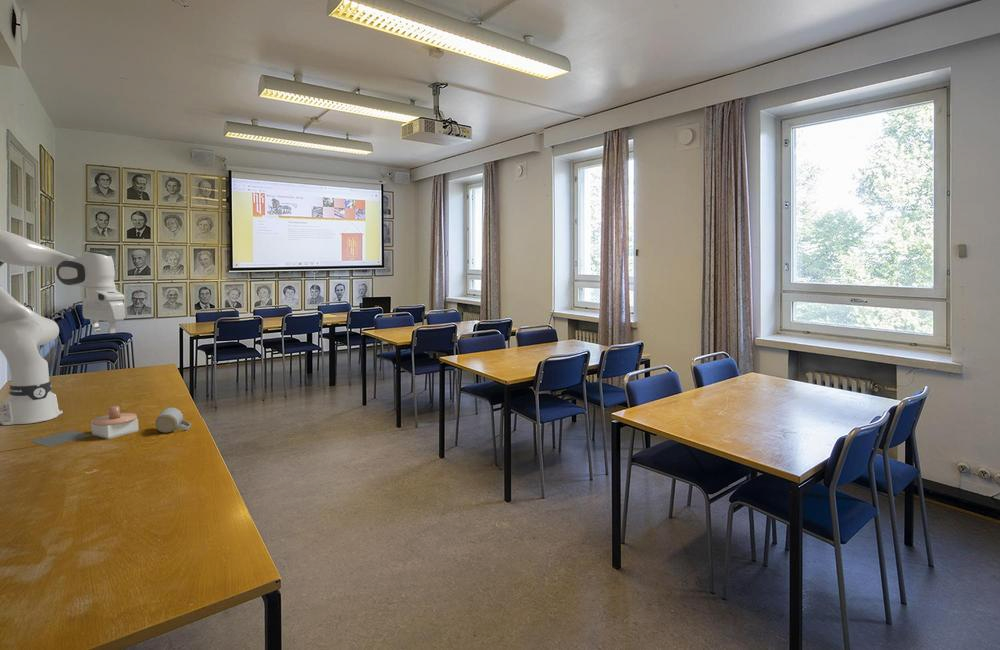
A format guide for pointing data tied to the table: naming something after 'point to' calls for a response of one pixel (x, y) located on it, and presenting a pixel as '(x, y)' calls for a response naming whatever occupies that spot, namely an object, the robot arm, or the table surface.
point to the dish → (115, 429)
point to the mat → (60, 438)
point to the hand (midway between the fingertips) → (104, 332)
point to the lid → (114, 417)
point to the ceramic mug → (171, 421)
